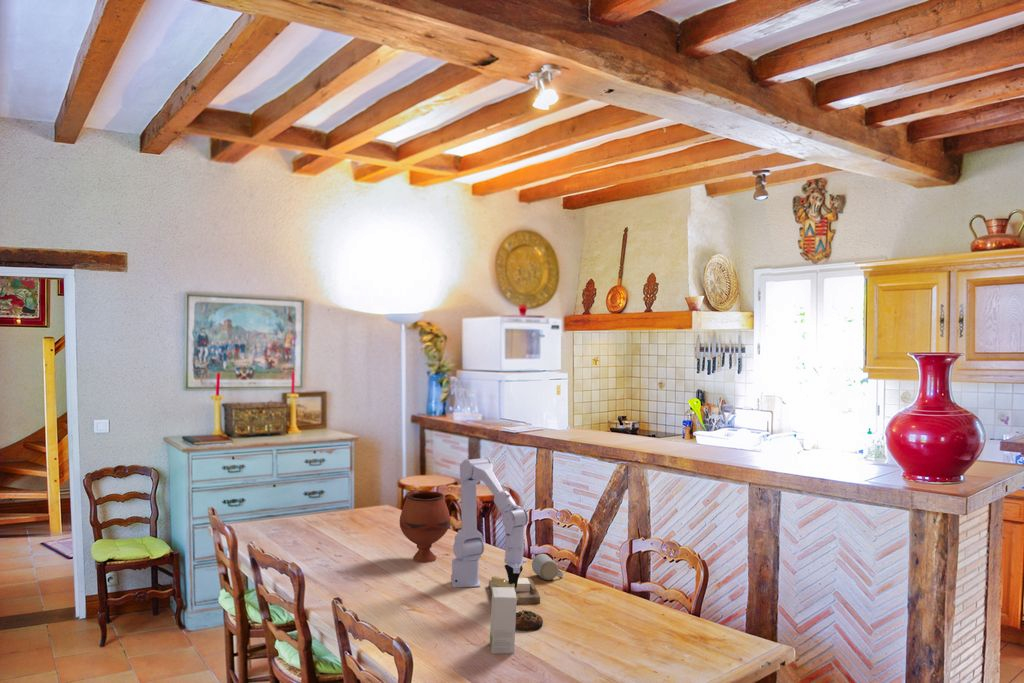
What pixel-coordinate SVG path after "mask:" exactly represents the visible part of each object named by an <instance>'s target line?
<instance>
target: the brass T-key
mask: <svg viewBox="0 0 1024 683" xmlns="http://www.w3.org/2000/svg"><path fill="white" fill-rule="evenodd" d="M504 579H505V578H501V577H499V576H491V580H492V584H495V585H497V586H500V587H514V590H515V583H512V582H509V581H507V579H505V580H504ZM516 598H517V600H519V595H518V594H516Z"/></svg>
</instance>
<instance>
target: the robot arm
mask: <svg viewBox="0 0 1024 683" xmlns="http://www.w3.org/2000/svg"><path fill="white" fill-rule="evenodd" d="M494 466H495V465H494V464H493V463H492V461H491V459H490V458H489V457H482V458H472V459H467V458H466V459H464V460H463V461H461V463H460V464H459V482H460V497H461V498H460V502H461V503H460V505H461V508H460V509H461V512H460V514H461V516H460V517H461V518H460V519H461V530H459V531H458V533H457V534H456V535H455V536H454V543H453V546H452V547H453V548H452V550H453V554H454V556H455V557H454V558H452V562H451V574H450V580H451V585H452V586H451V587H453V588H469V587H470V588H476V587H477V588H480V587H481V583H480V578H479V574H480V573H479V571H480V570H479V568H480V558H481V557H482V555H483V554H484V552H485V542H484V538H483V537H484V536H483V533H481V532H480V531H479V530H478V526H477V525H478V522H477V520H478V519H477V518H478V517H477V514H478V513H477V485H478V483H479V482H480V481H481V482H483V483H484V484H485V486H486V487H487V488H488V490H489V491H490V492H491V494H492V495H493V502H494V504H495V506H496V507H497V508H498V511H499V512H500V514H501V515H502V518H501V520H502V524H503V525H504V526H503V527H504V533H505V546H504V547H505V549H504V550H505V552H504V569H505V571H506V574H507V578H508V581H509V582H512V583H515V588H516V587H517V583H518V578H520V575H521V573H522V571H523V568H524V567H523V564H526V563H527V559H526V558H523V557H524V534H525V530H524V529H525V526H526V525H527V524H528V520H529V516H528V513H527V510H526V508H524V507H521V506H520V505H518V504H517V503H516V501H515V500H514V498H513V497H512V495H511V494H510V492H509V491H508V490H504V488H503V487H502V485H501V484H500V481H499V480H498V478H497V476H496V474H495V472H494V468H495V467H494Z"/></svg>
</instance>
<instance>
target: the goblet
mask: <svg viewBox="0 0 1024 683" xmlns="http://www.w3.org/2000/svg"><path fill="white" fill-rule="evenodd" d="M444 497H445V495H444V493H442V492H438V491H416V492H410V493H407V494H406V499H405V500H404V501H405V502H404V504H403V506H402V509H401V512H400V516H399V527H400V530H401V532H402V534H403V535H404V537H406V538H407V540H409V541H410V542H412V543H413V544H415V545H416V549H417V552H416V553H414V555H413V557H412V561H413V562H416V563H421V564H422V563H424V564H425V563H431V562H433V561H436V560H437V558H436V557H437V556H436V555H435V554H434V552H432V550H431V548H432V546H433V544H435V543H436V542H438V541H439V540H440V539H442V538H443V537H444V535H445V534H446V533H447V532H448V530H449V528H450V524H451V516H450V515H451V514H450V511H449V509H448V505H447V503H446V500H445V498H444Z"/></svg>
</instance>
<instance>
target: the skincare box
mask: <svg viewBox="0 0 1024 683" xmlns="http://www.w3.org/2000/svg"><path fill="white" fill-rule="evenodd" d="M516 603H517V598H516V592H515V590H514V587H492V596H491V610H490V628H489V630H490V631H489V632H490V633H489V634H490V635H489V646H490V649H491V650H490V651H491V652H490V653H491V654H494V655H495V654H498V655H501V654H515V645H516V644H515V642H516V629H515V624H516V613H517V604H516Z"/></svg>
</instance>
